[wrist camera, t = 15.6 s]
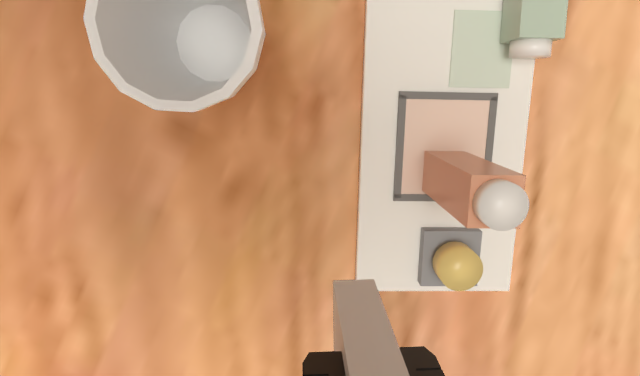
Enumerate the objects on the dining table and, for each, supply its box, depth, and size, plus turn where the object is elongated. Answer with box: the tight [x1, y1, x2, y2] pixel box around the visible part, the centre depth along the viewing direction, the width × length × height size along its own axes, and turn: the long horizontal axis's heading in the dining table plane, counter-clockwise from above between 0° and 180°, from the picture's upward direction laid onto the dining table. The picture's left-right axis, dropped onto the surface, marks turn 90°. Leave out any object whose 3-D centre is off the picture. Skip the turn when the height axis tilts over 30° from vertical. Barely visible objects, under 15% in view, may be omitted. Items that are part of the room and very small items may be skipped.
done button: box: [433, 241, 483, 291], centre depth 39 cm, size 4×4×2 cm
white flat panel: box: [355, 0, 535, 291], centre depth 39 cm, size 28×14×2 cm, turn 179°
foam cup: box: [83, 0, 266, 112], centre depth 32 cm, size 10×9×13 cm
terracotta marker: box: [422, 151, 529, 231], centre depth 34 cm, size 3×3×12 cm
